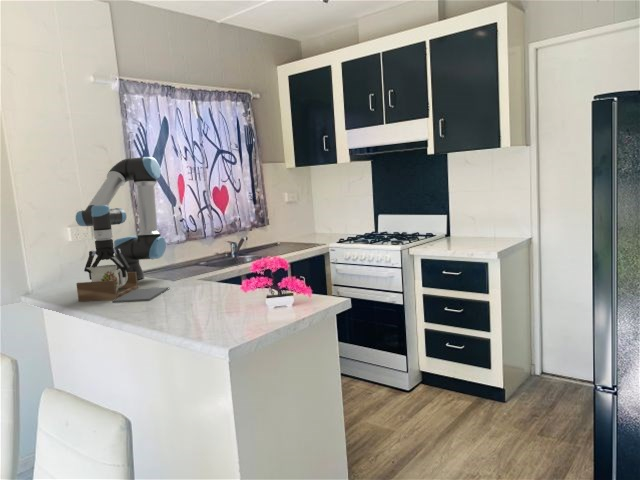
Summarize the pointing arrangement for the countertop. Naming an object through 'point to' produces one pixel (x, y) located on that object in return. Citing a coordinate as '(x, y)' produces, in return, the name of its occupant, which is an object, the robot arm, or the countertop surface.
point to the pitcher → (107, 274)
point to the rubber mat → (141, 295)
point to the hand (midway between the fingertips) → (108, 285)
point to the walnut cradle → (105, 289)
